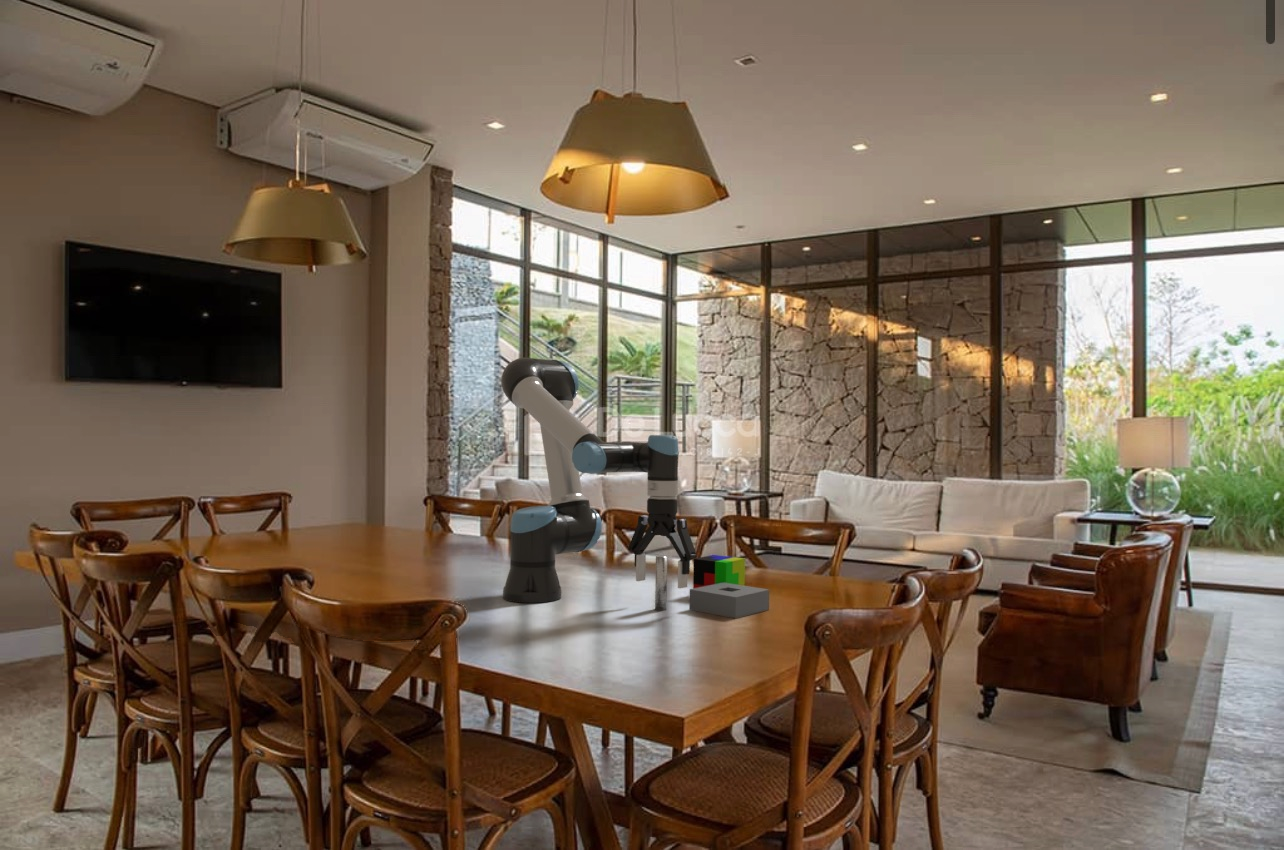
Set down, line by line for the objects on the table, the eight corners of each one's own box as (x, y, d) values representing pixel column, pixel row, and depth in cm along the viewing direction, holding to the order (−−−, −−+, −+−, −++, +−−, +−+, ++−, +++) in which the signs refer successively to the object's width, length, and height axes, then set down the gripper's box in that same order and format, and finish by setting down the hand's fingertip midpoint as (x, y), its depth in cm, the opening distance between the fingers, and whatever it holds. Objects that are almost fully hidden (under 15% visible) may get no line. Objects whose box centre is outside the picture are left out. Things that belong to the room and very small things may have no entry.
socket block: (689, 609, 213) (689, 589, 213) (723, 601, 224) (723, 582, 224) (735, 618, 204) (735, 597, 204) (769, 609, 214) (769, 589, 214)
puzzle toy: (712, 591, 239) (713, 554, 239) (744, 595, 233) (745, 558, 234) (693, 596, 231) (693, 558, 231) (725, 601, 225) (726, 562, 225)
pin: (652, 609, 213) (653, 556, 213) (660, 607, 215) (660, 555, 215) (661, 611, 211) (662, 557, 211) (668, 609, 213) (669, 556, 213)
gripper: (615, 495, 219) (614, 579, 219) (692, 501, 202) (691, 592, 202) (635, 493, 224) (634, 575, 224) (712, 500, 208) (710, 588, 208)
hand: (661, 584), depth 213 cm, fingers open, 13 cm apart
